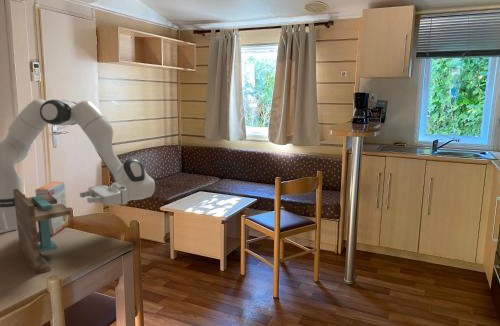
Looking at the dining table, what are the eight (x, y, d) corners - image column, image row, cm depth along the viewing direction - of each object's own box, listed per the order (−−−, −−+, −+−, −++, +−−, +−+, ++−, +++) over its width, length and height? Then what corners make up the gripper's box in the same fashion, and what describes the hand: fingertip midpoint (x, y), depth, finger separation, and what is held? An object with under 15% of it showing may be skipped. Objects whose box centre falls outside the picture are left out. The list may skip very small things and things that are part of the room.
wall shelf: (54, 241, 160) (48, 184, 156) (75, 263, 139) (69, 199, 135) (20, 248, 153) (13, 189, 148) (36, 274, 131) (29, 206, 127)
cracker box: (56, 225, 180) (52, 181, 176) (69, 225, 179) (65, 181, 176) (39, 236, 166) (34, 188, 162) (53, 236, 166) (48, 189, 162)
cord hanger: (49, 240, 154) (44, 195, 150) (60, 252, 141) (56, 204, 138) (32, 243, 150) (27, 197, 146) (42, 257, 138) (37, 207, 134)
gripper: (108, 180, 170) (75, 185, 161) (127, 190, 154) (91, 195, 146) (109, 194, 171) (76, 199, 162) (128, 205, 155) (92, 211, 147)
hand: (83, 197), depth 154 cm, fingers open, 8 cm apart
